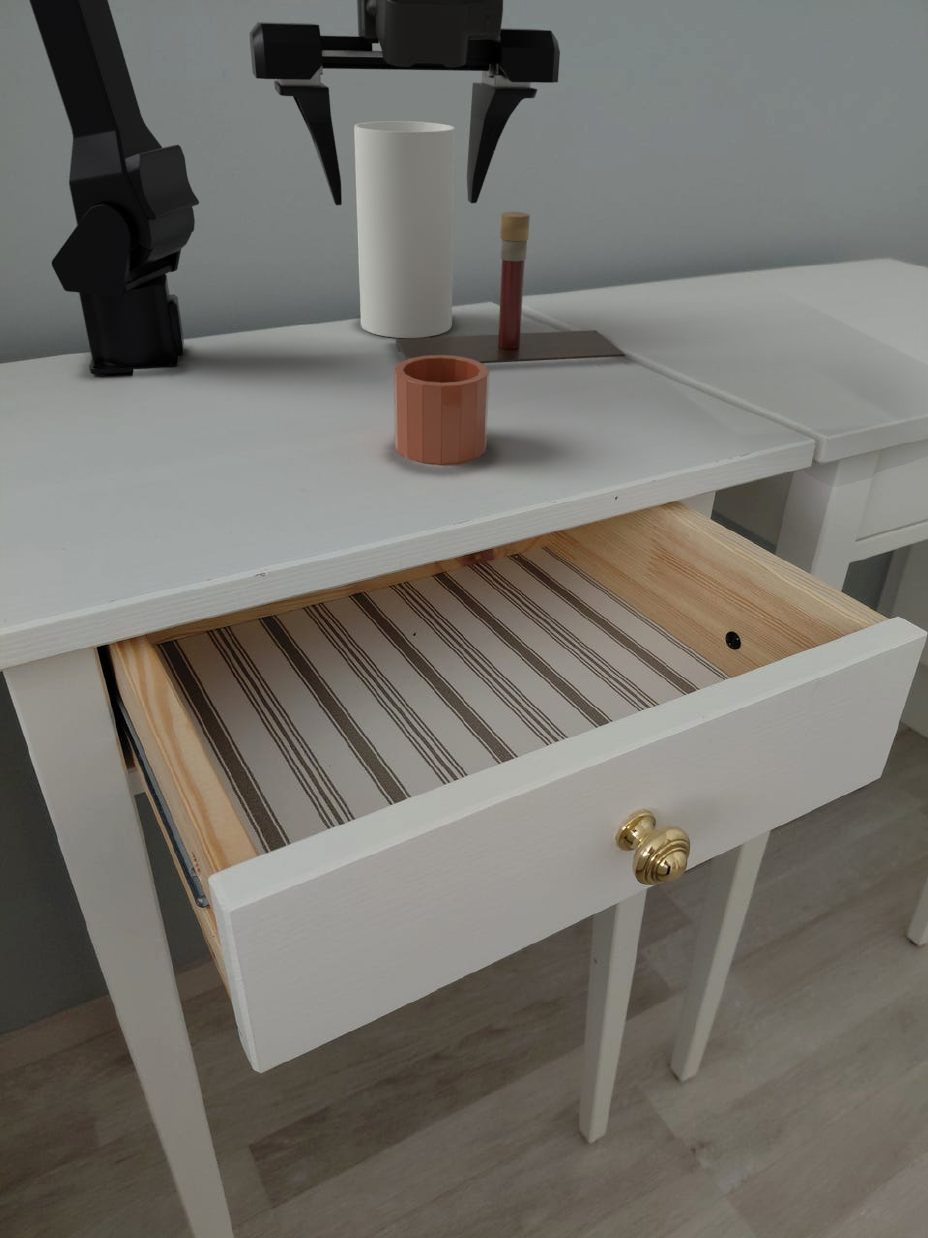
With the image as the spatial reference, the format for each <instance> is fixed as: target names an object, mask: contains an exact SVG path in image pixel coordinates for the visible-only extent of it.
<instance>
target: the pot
mask: <svg viewBox="0 0 928 1238" xmlns="http://www.w3.org/2000/svg"><path fill="white" fill-rule="evenodd" d="M489 392H490V369H489V368H488V367H487V365H485V363H480V362H478V361H476V360H473V359H468V358H464V357H458V356H449V355H430V356H420V357H415V358H410V359H404V360H401V361H400V362H398V363H397V364H396V366H395V367H394V369H393V402H394V403H393V407H394V408H393V410H394V411H393V413H394V414H393V415H394V447H395V450H396V451H397V453H398V454H399V455H400V456H401V457H404V458H405V459H407V460H410V461H413V462H416V463H420V464H425V465H432V466H450V465H451V466H452V465H459V464H465V463H468V462H472V461H474V460H476V459H478V458H480V457H481V456H483V454H485V452H486V449H487V444H488V443H487V442H488V419H489V417H488V416H489V395H490V393H489Z"/></svg>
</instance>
